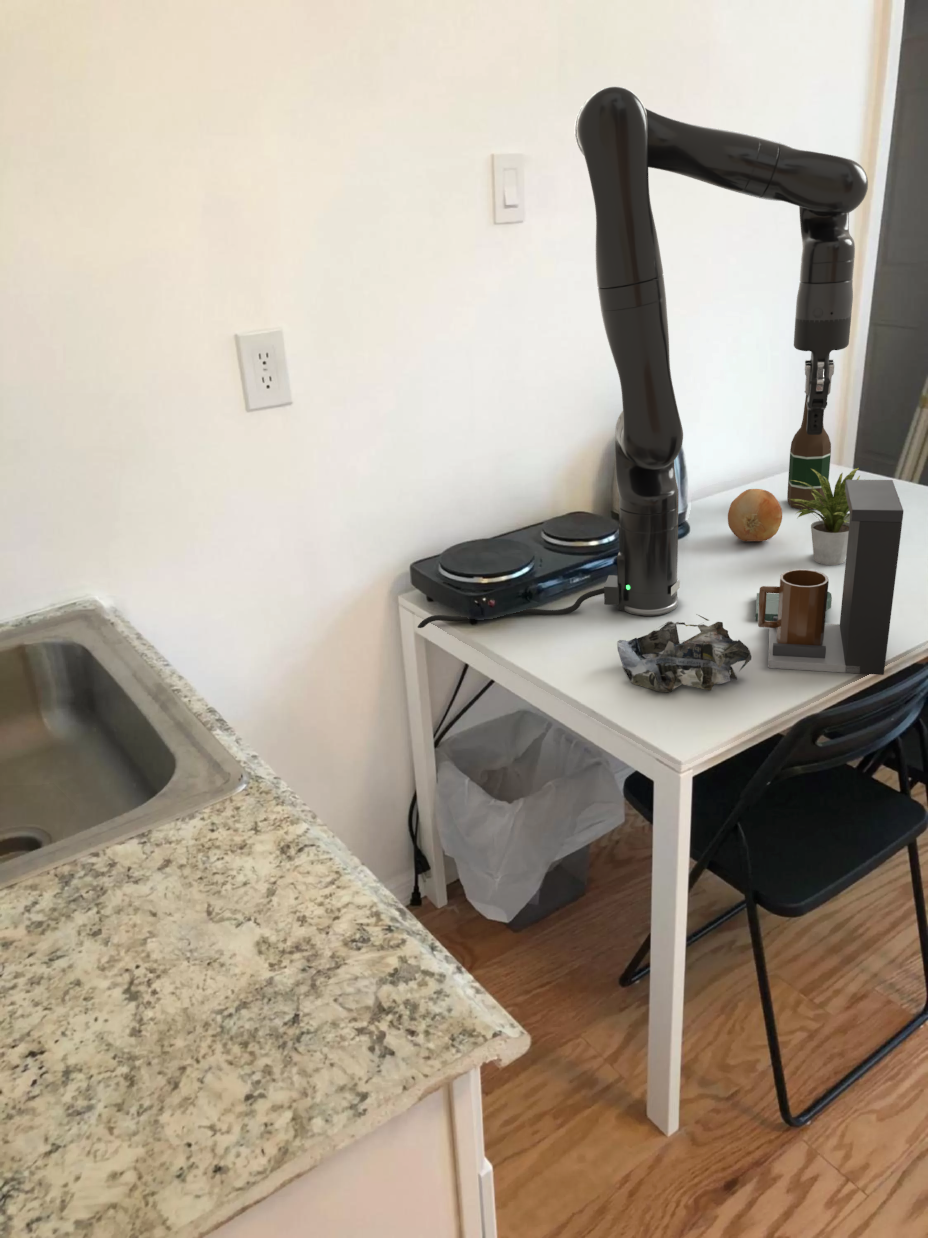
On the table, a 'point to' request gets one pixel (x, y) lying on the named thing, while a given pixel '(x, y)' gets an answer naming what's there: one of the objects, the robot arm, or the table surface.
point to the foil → (682, 658)
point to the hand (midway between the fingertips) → (814, 433)
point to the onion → (755, 515)
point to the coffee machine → (857, 589)
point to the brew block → (773, 605)
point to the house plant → (829, 520)
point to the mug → (797, 607)
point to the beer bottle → (807, 463)
